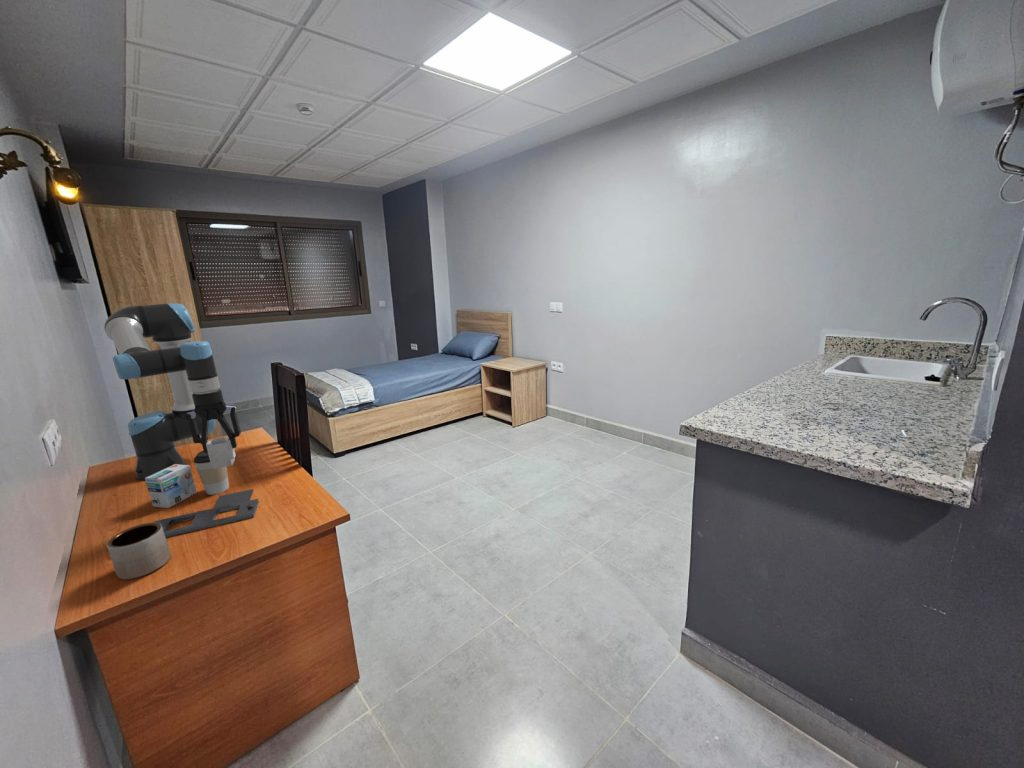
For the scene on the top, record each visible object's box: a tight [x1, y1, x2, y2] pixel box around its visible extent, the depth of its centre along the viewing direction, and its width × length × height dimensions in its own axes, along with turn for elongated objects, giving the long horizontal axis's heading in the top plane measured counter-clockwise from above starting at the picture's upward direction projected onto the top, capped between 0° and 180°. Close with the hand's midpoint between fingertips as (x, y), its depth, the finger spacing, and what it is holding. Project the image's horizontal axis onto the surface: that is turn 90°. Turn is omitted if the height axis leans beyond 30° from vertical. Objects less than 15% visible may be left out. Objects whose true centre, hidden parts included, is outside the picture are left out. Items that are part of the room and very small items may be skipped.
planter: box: [106, 522, 172, 580], centre depth 106 cm, size 11×11×10 cm
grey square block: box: [208, 436, 236, 469], centre depth 133 cm, size 5×5×9 cm
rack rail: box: [152, 498, 260, 538], centre depth 127 cm, size 10×28×2 cm, turn 114°
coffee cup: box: [193, 449, 230, 496], centre depth 144 cm, size 9×9×15 cm
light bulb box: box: [144, 464, 198, 509], centre depth 139 cm, size 11×7×11 cm, turn 168°
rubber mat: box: [213, 488, 254, 508], centre depth 138 cm, size 10×10×1 cm
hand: (223, 458), depth 134 cm, fingers closed on grey square block, 5 cm apart
